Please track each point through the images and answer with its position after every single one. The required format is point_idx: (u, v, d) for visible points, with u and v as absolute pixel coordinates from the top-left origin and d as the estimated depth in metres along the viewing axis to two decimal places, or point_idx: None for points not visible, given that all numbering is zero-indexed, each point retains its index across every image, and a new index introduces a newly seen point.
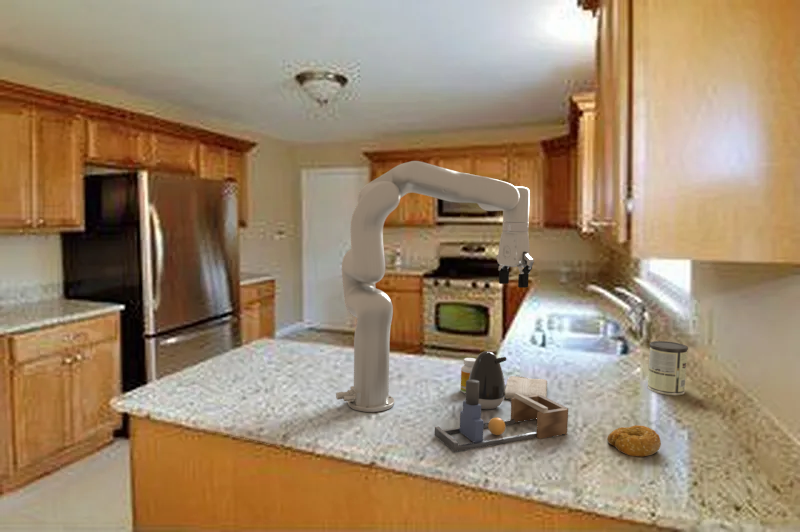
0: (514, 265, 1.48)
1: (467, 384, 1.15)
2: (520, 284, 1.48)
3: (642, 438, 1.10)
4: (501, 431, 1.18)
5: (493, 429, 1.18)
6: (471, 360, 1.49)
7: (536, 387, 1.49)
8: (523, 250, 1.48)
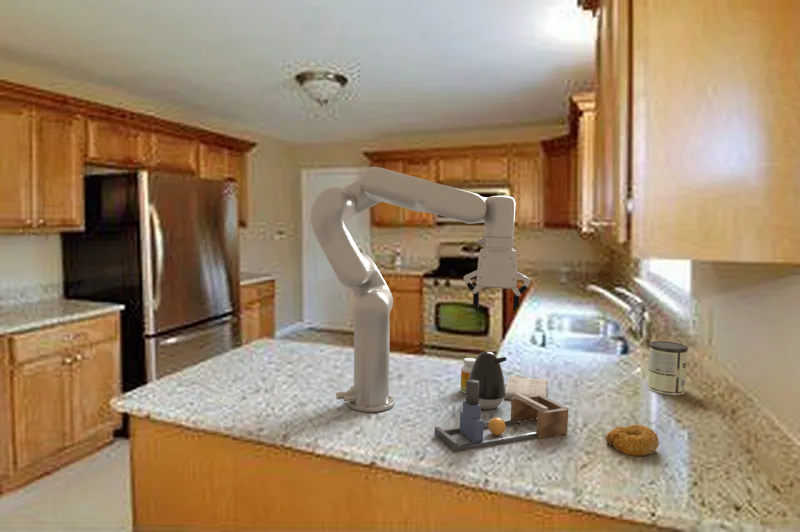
0: (512, 287, 1.29)
1: (467, 384, 1.15)
2: (515, 307, 1.31)
3: (640, 437, 1.10)
4: (501, 431, 1.18)
5: (493, 429, 1.18)
6: (471, 360, 1.49)
7: (536, 387, 1.49)
8: None
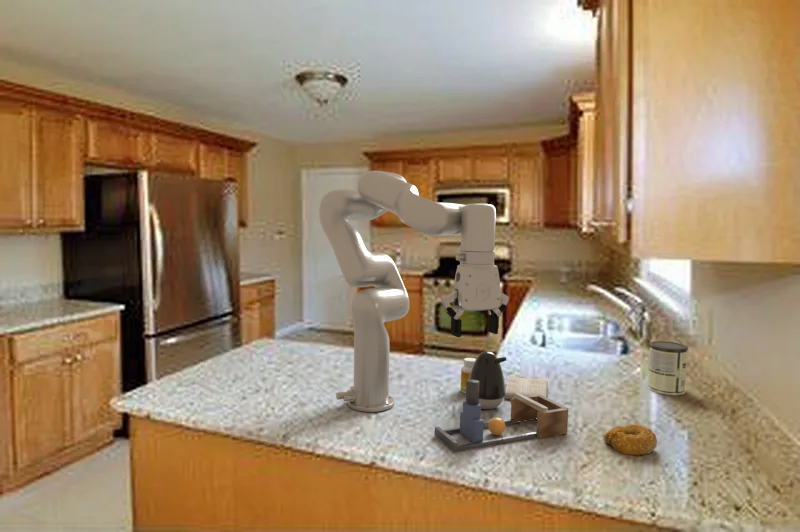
0: (497, 307, 1.14)
1: (467, 384, 1.15)
2: None
3: (638, 437, 1.11)
4: (501, 431, 1.18)
5: (493, 429, 1.18)
6: (471, 360, 1.49)
7: (536, 387, 1.49)
8: None
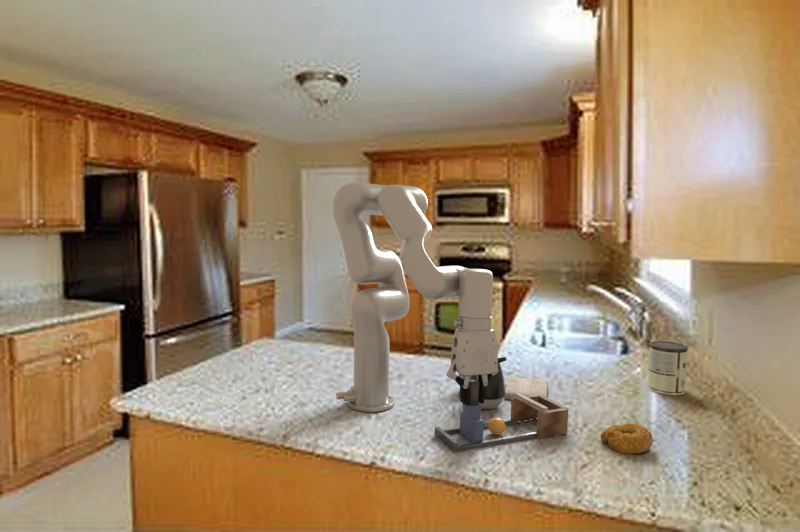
0: (494, 371, 1.15)
1: None
2: None
3: (635, 436, 1.11)
4: (501, 431, 1.18)
5: (493, 429, 1.18)
6: None
7: (537, 387, 1.49)
8: None
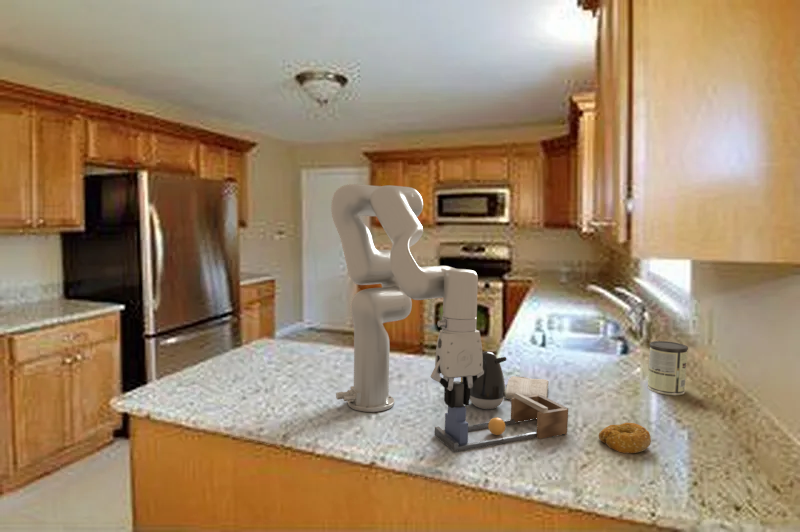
0: (479, 373, 1.13)
1: None
2: None
3: (632, 435, 1.12)
4: (501, 431, 1.18)
5: (493, 429, 1.18)
6: None
7: (537, 387, 1.49)
8: None
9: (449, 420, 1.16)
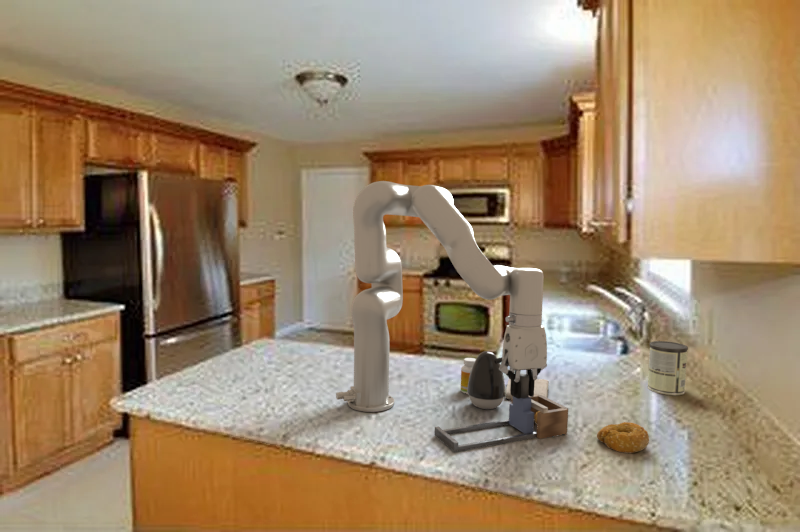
0: (543, 365, 1.20)
1: None
2: None
3: (631, 434, 1.12)
4: None
5: None
6: (471, 360, 1.49)
7: (537, 387, 1.49)
8: None
9: (514, 410, 1.23)
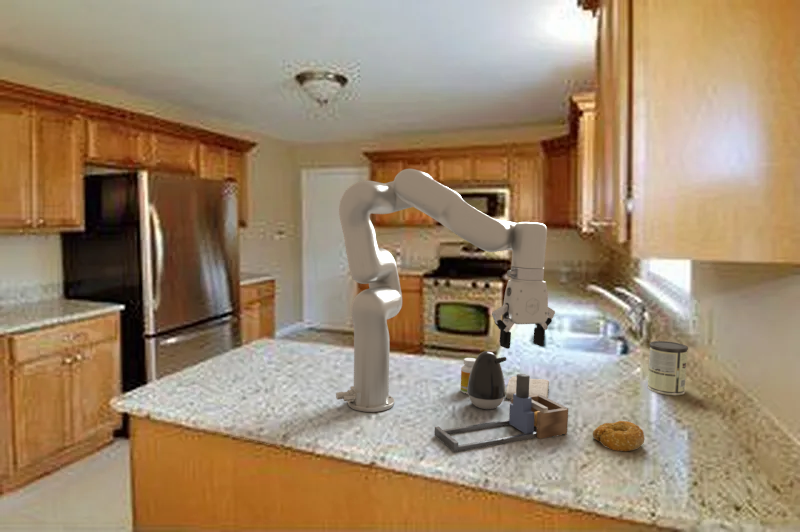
0: (544, 321, 1.20)
1: (518, 378, 1.21)
2: None
3: (626, 433, 1.13)
4: None
5: None
6: (471, 360, 1.49)
7: (537, 387, 1.48)
8: None
9: (514, 410, 1.23)
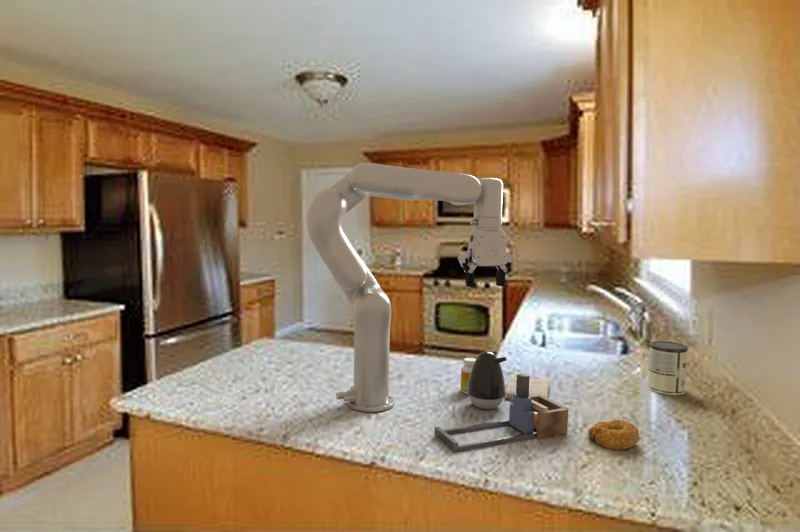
0: (503, 264, 1.39)
1: (518, 378, 1.21)
2: None
3: (621, 432, 1.13)
4: None
5: None
6: (471, 360, 1.49)
7: (538, 387, 1.48)
8: None
9: (514, 410, 1.23)
